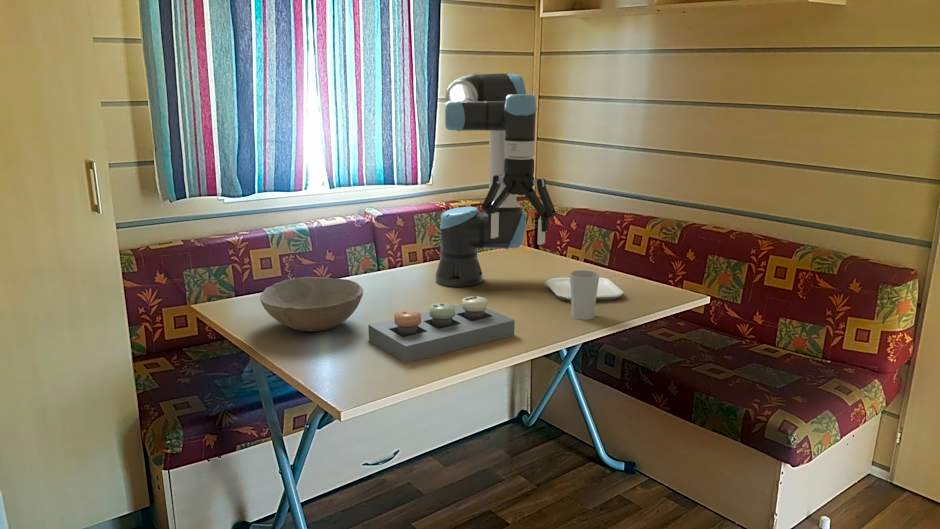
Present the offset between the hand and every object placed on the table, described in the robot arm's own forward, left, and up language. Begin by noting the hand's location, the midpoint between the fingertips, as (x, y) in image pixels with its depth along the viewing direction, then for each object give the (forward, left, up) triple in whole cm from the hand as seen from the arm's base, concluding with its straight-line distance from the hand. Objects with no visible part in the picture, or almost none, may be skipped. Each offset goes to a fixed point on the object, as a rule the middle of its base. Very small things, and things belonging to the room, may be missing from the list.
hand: (517, 240), depth 187 cm
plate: (-11, +36, -23) cm, 44 cm away
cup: (+5, +20, -23) cm, 31 cm away
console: (-3, -21, -23) cm, 31 cm away
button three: (-3, -11, -20) cm, 23 cm away
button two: (-3, -21, -20) cm, 29 cm away
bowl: (-29, -44, -23) cm, 58 cm away
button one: (-3, -31, -20) cm, 37 cm away
